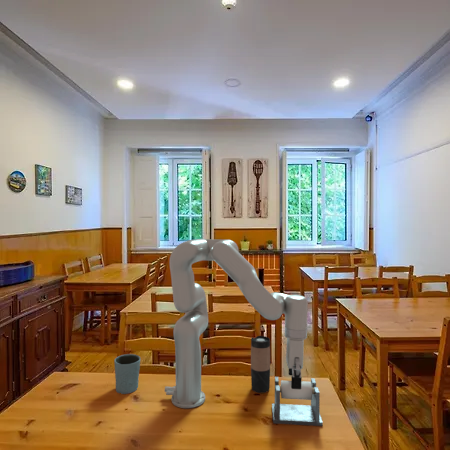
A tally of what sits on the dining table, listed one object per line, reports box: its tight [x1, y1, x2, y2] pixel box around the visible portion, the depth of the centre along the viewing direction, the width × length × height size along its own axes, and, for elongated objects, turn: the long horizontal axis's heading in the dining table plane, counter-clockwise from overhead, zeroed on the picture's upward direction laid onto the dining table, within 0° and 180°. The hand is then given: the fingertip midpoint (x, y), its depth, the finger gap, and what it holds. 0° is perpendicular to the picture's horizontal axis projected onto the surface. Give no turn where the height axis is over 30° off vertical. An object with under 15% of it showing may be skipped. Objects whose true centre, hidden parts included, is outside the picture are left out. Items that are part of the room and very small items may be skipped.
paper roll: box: [279, 379, 314, 401], centre depth 116 cm, size 13×6×6 cm, turn 84°
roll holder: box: [271, 376, 323, 427], centre depth 116 cm, size 16×10×11 cm, turn 84°
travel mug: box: [250, 335, 271, 394], centre depth 135 cm, size 8×8×20 cm
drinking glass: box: [113, 353, 141, 395], centre depth 135 cm, size 10×10×12 cm
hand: (294, 381), depth 116 cm, fingers open, 9 cm apart
